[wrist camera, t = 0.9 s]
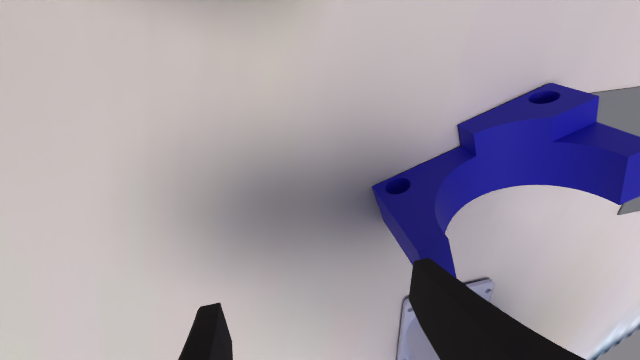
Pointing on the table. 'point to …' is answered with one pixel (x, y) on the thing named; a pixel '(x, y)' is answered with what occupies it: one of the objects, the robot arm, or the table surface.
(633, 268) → the table surface
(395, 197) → the cable clip
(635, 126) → the t marking
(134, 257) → the table surface
